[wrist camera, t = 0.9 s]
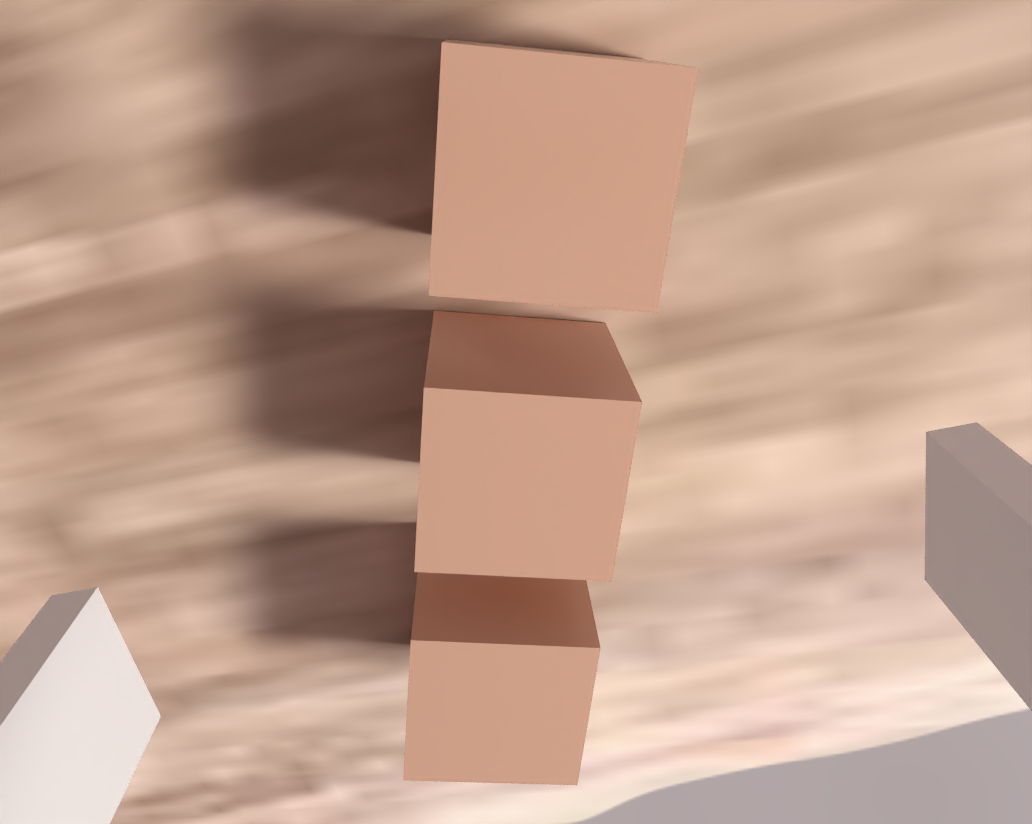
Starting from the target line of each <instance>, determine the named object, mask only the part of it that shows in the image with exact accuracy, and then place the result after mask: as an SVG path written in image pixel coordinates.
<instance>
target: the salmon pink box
mask: <svg viewBox="0 0 1032 824" xmlns="http://www.w3.org/2000/svg"><path fill="white" fill-rule="evenodd" d="M599 653H600V644H599V639H598V635H597V630H596V625H595V620H594V615H593V611H592V606H591V601H590V596H589V592H588V587H587V582H586V580H572V579H552V578H531V577H510V576H489V575H468V574H447V573H426V572H417V581H416V591H415V602H414V612H413V622H412V632H411V644H410V663H409V683H408V702H407V721H406V741H405V760H404V779H403V780H409V781H445V782H482V783H518V784H555V785H577V784H578V778H579V772H580V766H581V760H582V754H583V748H584V742H585V736H586V730H587V724H588V718H589V712H590V707H591V701H592V695H593V689H594V683H595V677H596V671H597V665H598V659H599Z"/></svg>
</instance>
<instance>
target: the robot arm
mask: <svg viewBox="0 0 1032 824" xmlns="http://www.w3.org/2000/svg"><path fill="white" fill-rule="evenodd" d="M925 580H926V582H927V583H928V584H929V585H930V586H931V588H932V589H933V590H934V591H935V593H936V594H937V595H938V596H939V598H940V599H941V600H942V601H943V602H944V604H945V605H946V606H947V607H948V609H949V610H950V611H951V612H952V614H953V615H954V616H955V617H956V618H957V620H958V621H959V622H960V623H961V625H962V626H963V627H964V628H965V629H966V631H967V632H968V633H969V634H970V636H971V637H972V638H973V639H974V641H975V642H976V643H977V644H978V645H979V647H980V648H981V649H982V650H983V652H984V653H985V654H986V655H987V657H988V658H989V659H990V660H991V661H992V663H993V664H994V665H995V666H996V668H997V669H998V670H999V671H1000V673H1001V674H1002V675H1003V676H1004V677H1005V679H1006V680H1007V681H1008V682H1009V684H1010V685H1011V686H1012V687H1013V689H1014V690H1015V691H1016V692H1017V693H1018V695H1019V696H1020V697H1021V698H1022V700H1023V701H1024V702H1025V703H1026V705H1027V706H1028V707H1029V708H1030V709H1031V711H1032V465H1031V464H1029V463H1028V462H1027V461H1026V460H1024V459H1023V458H1022V457H1021V456H1019V455H1018V454H1017V453H1015V452H1014V451H1013V450H1012V449H1010V448H1009V447H1008V446H1006V445H1005V444H1004V443H1003V442H1001V441H1000V440H999V439H998V438H996V437H995V436H994V435H992V434H991V433H990V432H989V431H987V430H986V429H985V428H983V427H982V426H981V425H980V424H978V423H971V424H966V425H961V426H955V427H950V428H945V429H939V430H934V431H929V432H926V504H925ZM160 717H161V716H160V714H159V711H158V709H157V707H156V705H155V703H154V701H153V699H152V697H151V695H150V693H149V691H148V689H147V687H146V685H145V683H144V681H143V679H142V677H141V675H140V673H139V671H138V669H137V667H136V665H135V662H134V660H133V658H132V656H131V654H130V652H129V650H128V648H127V646H126V644H125V642H124V640H123V638H122V636H121V634H120V632H119V630H118V628H117V626H116V624H115V622H114V620H113V618H112V616H111V613H110V611H109V609H108V607H107V605H106V603H105V601H104V599H103V597H102V595H101V593H100V591H99V589H98V587H95V588H90V589H85V590H79V591H74V592H69V593H63V594H58V595H53V596H51V597H50V598H49V600H48V601H47V602H46V604H45V605H44V606H43V607H42V609H41V610H40V611H39V613H38V614H37V615H36V616H35V618H34V619H33V620H32V622H31V623H30V624H29V626H28V627H27V628H26V629H25V631H24V632H23V633H22V635H21V636H20V637H19V639H18V640H17V641H16V642H15V644H14V645H13V646H12V648H11V649H10V650H9V652H8V653H7V654H6V655H5V657H4V658H3V659H2V661H1V662H0V824H110V822H111V820H112V818H113V816H114V814H115V812H116V810H117V807H118V805H119V803H120V801H121V799H122V797H123V795H124V793H125V791H126V788H127V786H128V784H129V782H130V780H131V778H132V776H133V774H134V772H135V770H136V767H137V765H138V763H139V761H140V759H141V757H142V755H143V753H144V751H145V748H146V746H147V744H148V742H149V740H150V738H151V736H152V734H153V732H154V729H155V727H156V725H157V723H158V721H159V719H160Z"/></svg>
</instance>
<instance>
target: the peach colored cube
mask: <svg viewBox="0 0 1032 824" xmlns="http://www.w3.org/2000/svg"><path fill="white" fill-rule="evenodd" d="M697 73H698V68H696V67H690V66H683V65H677V64H671V63H665V62H659V61H653V60H647V59H639V58H629V57H619V56H610V55H600V54H590V53H580V52H570V51H560V50H550V49H540V48H530V47H520V46H510V45H501V44H491V43H481V42H471V41H461V40H451V39H448V40H446V41H443V42H442V45H441V64H440V83H439V103H438V122H437V141H436V161H435V180H434V199H433V219H432V238H431V257H430V277H429V296H439V297H452V298H465V299H479V300H492V301H505V302H518V303H532V304H545V305H558V306H572V307H585V308H598V309H611V310H625V311H638V312H651V313H657V310H658V304H659V298H660V292H661V286H662V280H663V274H664V268H665V262H666V256H667V250H668V244H669V238H670V233H671V227H672V221H673V215H674V209H675V203H676V197H677V191H678V185H679V179H680V173H681V167H682V161H683V156H684V150H685V144H686V138H687V132H688V126H689V120H690V114H691V108H692V102H693V96H694V90H695V84H696V79H697Z"/></svg>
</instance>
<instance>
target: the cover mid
mask: <svg viewBox="0 0 1032 824" xmlns="http://www.w3.org/2000/svg"><path fill="white" fill-rule="evenodd" d="M641 404H642V401H641V399H640V397H639V395H638V392H637V390H636V388H635V386H634V384H633V382H632V379H631V377H630V375H629V373H628V371H627V369H626V366H625V364H624V362H623V360H622V358H621V356H620V353H619V351H618V349H617V347H616V345H615V343H614V340H613V338H612V336H611V334H610V332H609V330H608V327H607V325H606V323H597V322H584V321H570V320H557V319H543V318H530V317H516V316H503V315H489V314H476V313H462V312H449V311H435V310H434V313H433V321H432V329H431V336H430V344H429V351H428V359H427V367H426V374H425V382H424V393H423V412H422V431H421V451H420V470H419V489H418V509H417V528H416V547H415V567H414V572H426V573H447V574H468V575H489V576H510V577H531V578H552V579H572V580H593V581H612V576H613V570H614V564H615V558H616V552H617V547H618V541H619V535H620V529H621V523H622V517H623V511H624V505H625V499H626V493H627V487H628V481H629V475H630V470H631V464H632V458H633V452H634V446H635V440H636V434H637V428H638V422H639V416H640V410H641Z"/></svg>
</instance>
